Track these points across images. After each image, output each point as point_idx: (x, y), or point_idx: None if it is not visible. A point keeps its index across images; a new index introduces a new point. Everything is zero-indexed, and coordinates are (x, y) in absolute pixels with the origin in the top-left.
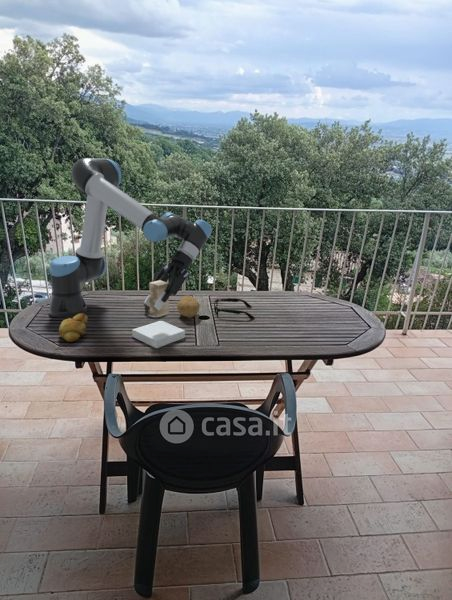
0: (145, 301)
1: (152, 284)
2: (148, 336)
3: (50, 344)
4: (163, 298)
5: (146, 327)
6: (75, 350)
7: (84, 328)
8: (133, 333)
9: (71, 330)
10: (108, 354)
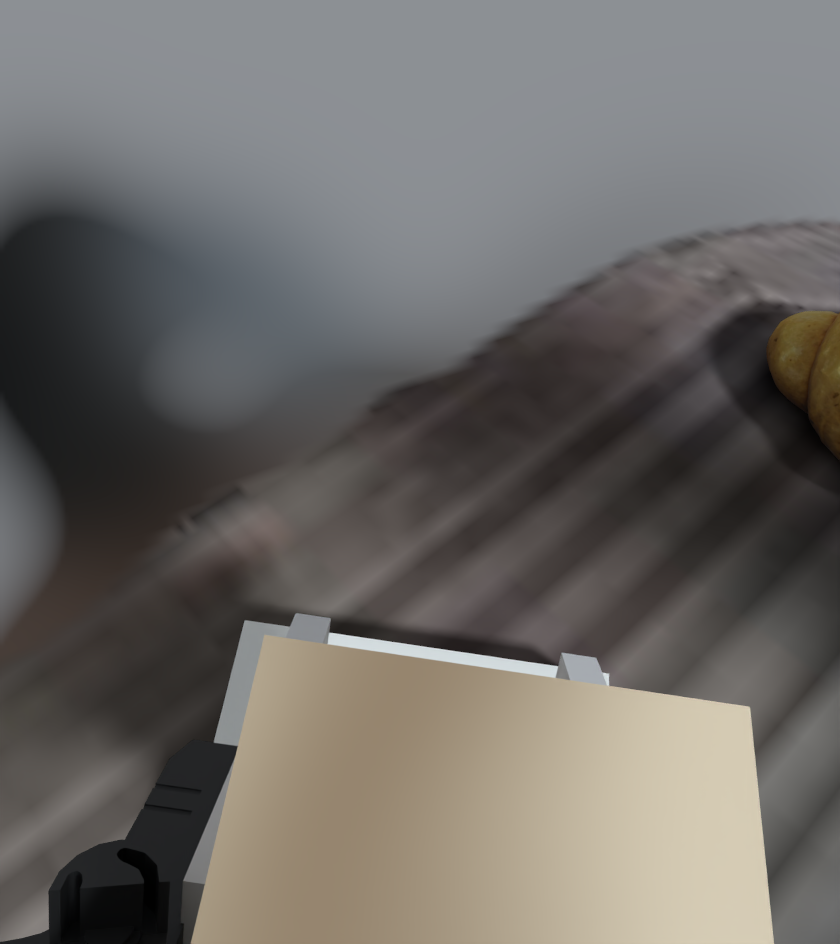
0: (572, 667)
1: (564, 685)
2: (366, 646)
3: (820, 290)
4: (195, 778)
5: None
6: (653, 313)
7: None
8: None
9: (834, 319)
10: (463, 377)
